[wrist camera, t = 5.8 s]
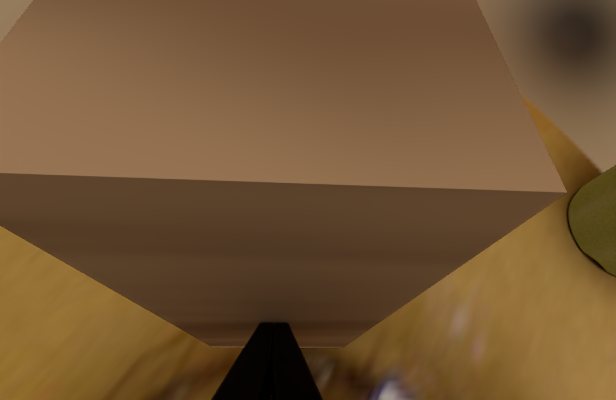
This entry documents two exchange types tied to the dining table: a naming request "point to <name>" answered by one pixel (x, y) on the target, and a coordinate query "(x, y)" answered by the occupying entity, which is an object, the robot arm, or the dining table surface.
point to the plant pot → (596, 219)
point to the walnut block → (265, 154)
